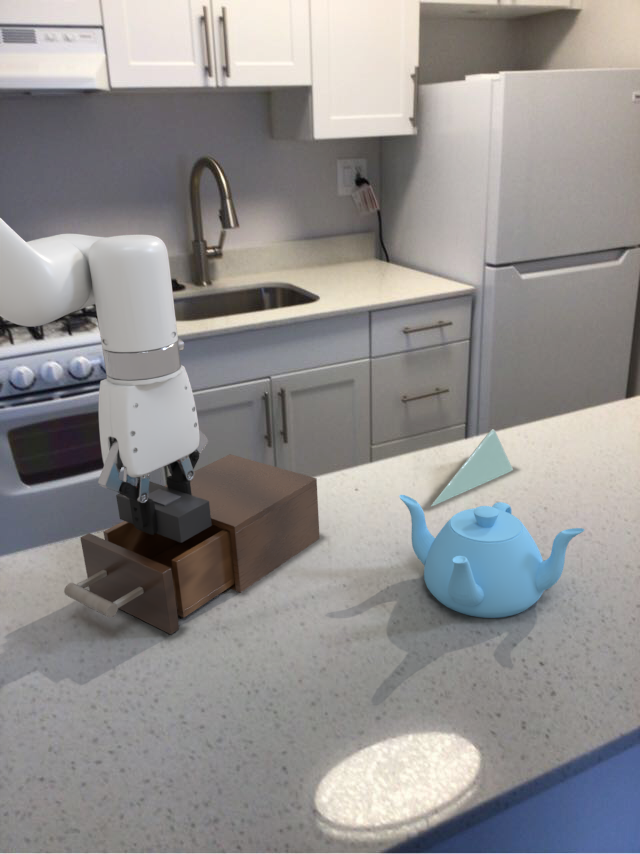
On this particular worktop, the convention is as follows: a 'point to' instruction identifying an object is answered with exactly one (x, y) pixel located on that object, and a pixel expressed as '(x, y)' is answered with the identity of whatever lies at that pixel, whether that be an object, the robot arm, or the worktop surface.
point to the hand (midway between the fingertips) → (164, 519)
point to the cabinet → (259, 513)
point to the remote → (172, 512)
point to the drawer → (153, 573)
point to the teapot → (485, 560)
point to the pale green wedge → (478, 468)
